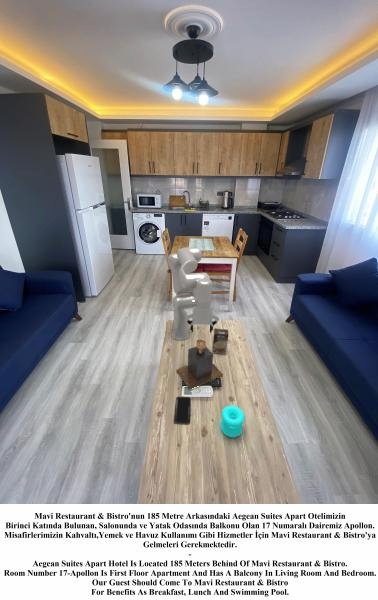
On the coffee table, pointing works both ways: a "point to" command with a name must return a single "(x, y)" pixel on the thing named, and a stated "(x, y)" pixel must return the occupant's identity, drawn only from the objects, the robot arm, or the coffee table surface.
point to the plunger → (200, 346)
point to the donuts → (232, 421)
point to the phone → (182, 410)
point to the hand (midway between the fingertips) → (201, 331)
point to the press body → (199, 368)
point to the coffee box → (220, 341)
